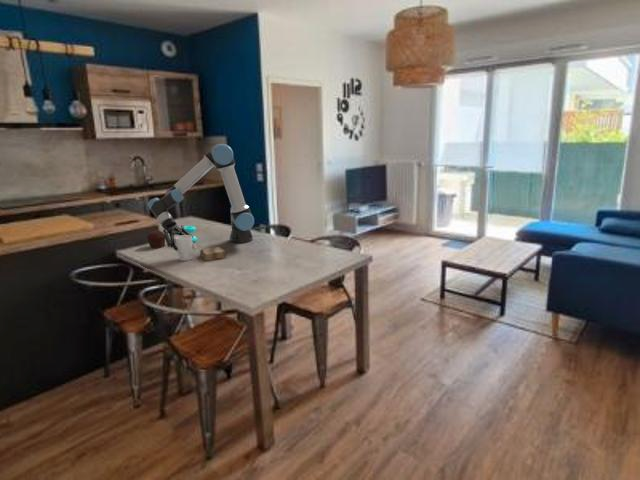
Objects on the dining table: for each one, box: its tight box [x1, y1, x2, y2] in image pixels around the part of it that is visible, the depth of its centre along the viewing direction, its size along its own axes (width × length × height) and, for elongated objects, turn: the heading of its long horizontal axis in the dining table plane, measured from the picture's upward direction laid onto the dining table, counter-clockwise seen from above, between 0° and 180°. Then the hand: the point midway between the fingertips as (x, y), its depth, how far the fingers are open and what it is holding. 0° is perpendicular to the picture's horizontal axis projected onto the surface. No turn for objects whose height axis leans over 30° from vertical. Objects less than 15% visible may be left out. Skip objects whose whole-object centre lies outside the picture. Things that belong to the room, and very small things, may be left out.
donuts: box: [183, 225, 198, 243], centre depth 271 cm, size 10×10×10 cm
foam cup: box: [174, 234, 193, 262], centre depth 234 cm, size 10×9×13 cm
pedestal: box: [199, 246, 227, 262], centre depth 239 cm, size 12×12×4 cm
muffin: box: [146, 230, 166, 249], centre depth 261 cm, size 12×11×10 cm
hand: (188, 251), depth 233 cm, fingers closed on foam cup, 9 cm apart
